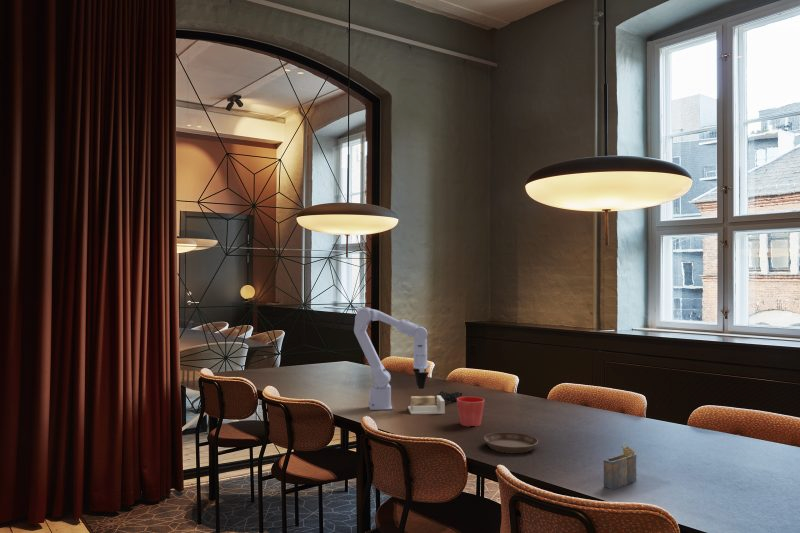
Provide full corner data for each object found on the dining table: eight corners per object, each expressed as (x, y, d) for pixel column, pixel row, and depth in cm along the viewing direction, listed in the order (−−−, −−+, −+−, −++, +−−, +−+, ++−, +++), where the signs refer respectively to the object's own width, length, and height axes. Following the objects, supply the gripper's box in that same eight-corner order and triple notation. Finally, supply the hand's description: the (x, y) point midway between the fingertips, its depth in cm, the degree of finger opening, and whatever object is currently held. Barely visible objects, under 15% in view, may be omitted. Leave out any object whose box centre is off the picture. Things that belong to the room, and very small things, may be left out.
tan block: (411, 410, 256) (411, 398, 256) (410, 408, 260) (410, 396, 260) (435, 409, 257) (435, 397, 257) (434, 407, 261) (434, 395, 261)
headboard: (411, 414, 252) (411, 401, 252) (408, 408, 264) (408, 395, 264) (444, 413, 253) (444, 400, 253) (440, 407, 265) (440, 395, 265)
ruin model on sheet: (626, 479, 172) (626, 444, 172) (636, 482, 170) (636, 447, 170) (602, 487, 165) (602, 451, 165) (612, 491, 163) (611, 454, 163)
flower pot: (488, 422, 237) (488, 397, 237) (479, 429, 227) (479, 402, 227) (462, 420, 242) (462, 395, 242) (452, 426, 232) (452, 400, 232)
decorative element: (440, 408, 263) (440, 395, 263) (430, 407, 265) (430, 393, 265) (463, 401, 281) (464, 388, 282) (454, 400, 284) (454, 387, 284)
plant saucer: (549, 450, 200) (549, 441, 200) (508, 458, 191) (508, 448, 191) (512, 438, 215) (512, 429, 215) (473, 445, 206) (473, 436, 206)
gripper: (431, 357, 256) (431, 389, 255) (427, 352, 270) (427, 383, 270) (414, 357, 255) (414, 390, 255) (411, 353, 270) (411, 383, 269)
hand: (420, 386), depth 262 cm, fingers open, 7 cm apart
